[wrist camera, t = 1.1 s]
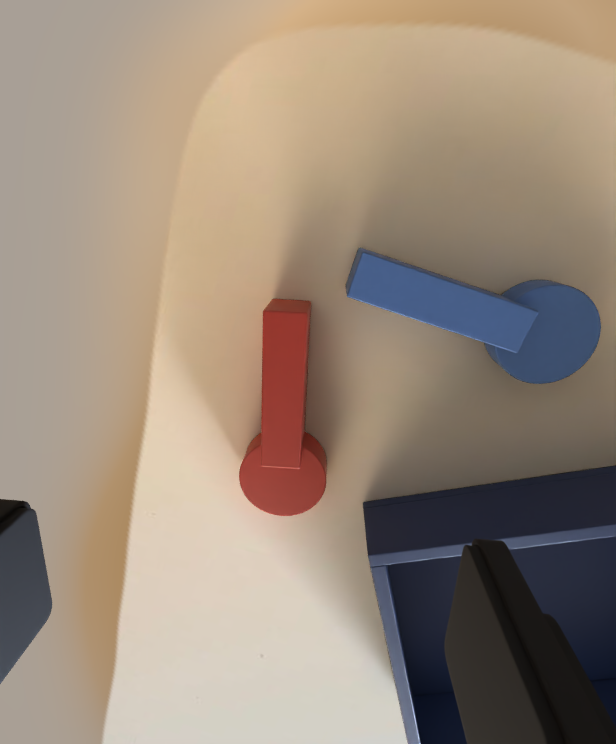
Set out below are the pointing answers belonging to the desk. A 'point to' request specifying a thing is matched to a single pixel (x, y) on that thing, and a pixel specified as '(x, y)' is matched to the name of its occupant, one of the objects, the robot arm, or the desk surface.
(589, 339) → the blue spoon
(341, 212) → the desk surface
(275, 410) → the red spoon
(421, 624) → the blue bin
